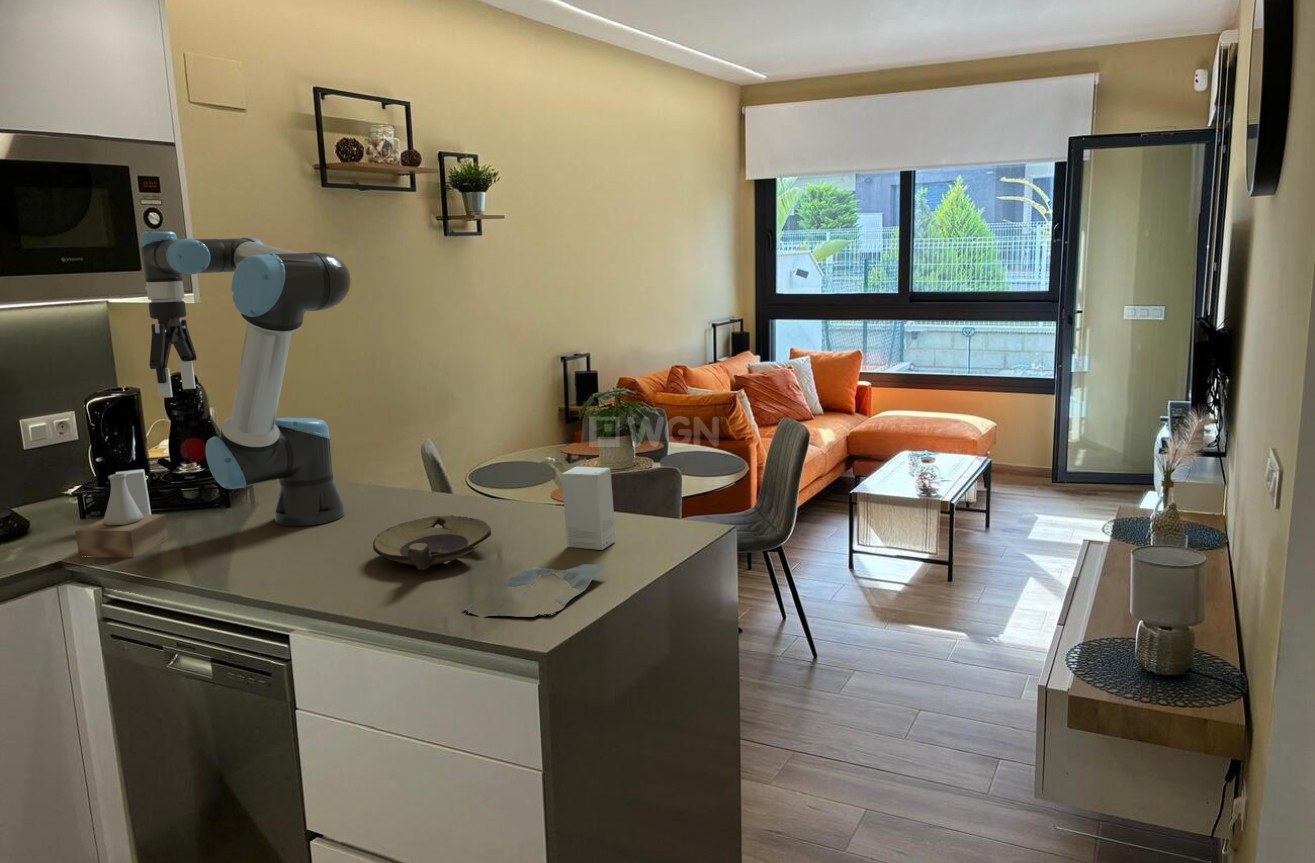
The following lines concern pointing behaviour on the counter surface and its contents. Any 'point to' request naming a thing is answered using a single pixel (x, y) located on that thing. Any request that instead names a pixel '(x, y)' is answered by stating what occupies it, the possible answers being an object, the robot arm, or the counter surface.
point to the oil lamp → (431, 540)
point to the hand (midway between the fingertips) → (177, 393)
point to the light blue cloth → (574, 576)
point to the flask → (121, 503)
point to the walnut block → (122, 537)
